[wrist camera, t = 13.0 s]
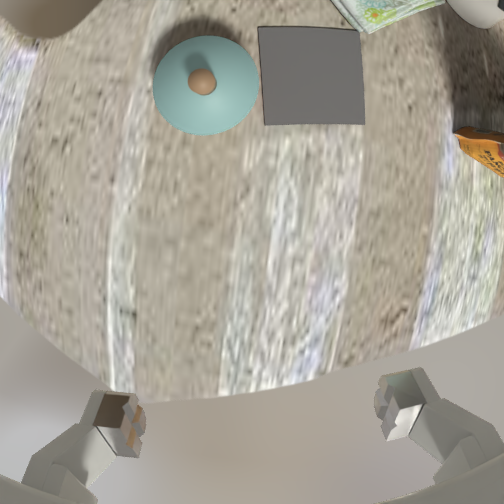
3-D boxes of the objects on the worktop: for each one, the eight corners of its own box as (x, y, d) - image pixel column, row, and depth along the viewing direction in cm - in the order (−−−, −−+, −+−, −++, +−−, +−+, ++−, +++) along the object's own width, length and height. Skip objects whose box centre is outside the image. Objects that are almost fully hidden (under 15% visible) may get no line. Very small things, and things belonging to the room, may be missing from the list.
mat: (258, 28, 35) (258, 27, 35) (358, 31, 35) (359, 31, 35) (264, 125, 41) (265, 125, 40) (364, 124, 41) (365, 124, 40)
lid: (150, 46, 31) (140, 39, 27) (253, 32, 31) (255, 22, 27) (160, 141, 36) (150, 145, 32) (262, 129, 36) (265, 131, 32)
